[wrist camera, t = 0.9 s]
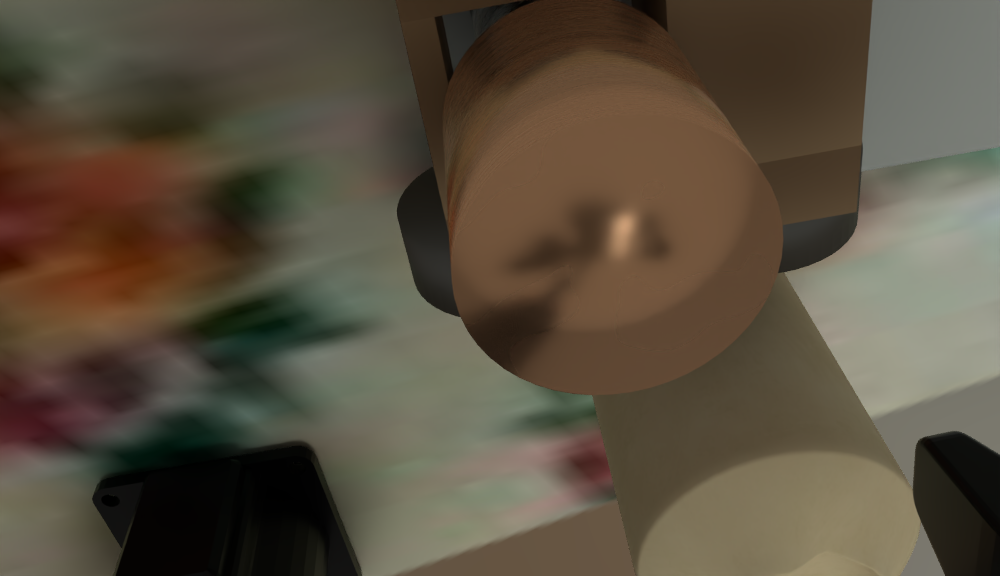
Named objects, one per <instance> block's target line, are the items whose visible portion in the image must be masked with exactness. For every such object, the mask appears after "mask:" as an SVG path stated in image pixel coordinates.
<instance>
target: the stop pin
mask: <svg viewBox="0 0 1000 576" xmlns="http://www.w3.org/2000/svg"><path fill="white" fill-rule="evenodd" d="M472 21H473V29H474V35H475V41H474V42H473V44H472V45H471V46H470V47H469V48H468V50H467V51H466V52H465V54H464V55H463V57H462V58H461V60H460V62H459V63H458V65H457V67H456V69H455V71H454V73H453V75H452V78H451V80H450V82H449V85H448V89H447V92H446V96H445V100H444V107H443V145H444V161H445V178H446V195H447V211H448V228H449V245H450V261H451V278H452V286H453V293H454V299H455V302H456V305H457V308H458V311H459V314H460V317H461V319H462V321H463V323H464V325H465V327H466V328H467V330H468V332H469V333H470V335H471V336H472V338H473V339H474V340H475V342H476V343H477V345H478V346H479V347H480V348H481V349H482V350H483V351H484V352H485V353H486V354H487V355H488V356H489V357H490V358H491V359H492V360H494V361H495V362H496V363H498V364H499V365H500V366H501V367H503V368H504V369H506V370H507V371H509V372H511V373H513V374H514V375H516V376H518V377H519V378H522V379H524V380H526V381H528V382H531V383H533V384H535V385H538V386H542V387H545V388H548V389H552V390H556V391H561V392H566V393H572V394H584V395H612V394H620V393H629V392H634V391H639V390H643V389H647V388H651V387H654V386H658V385H661V384H664V383H667V382H670V381H672V380H674V379H677V378H679V377H681V376H683V375H686V374H688V373H690V372H691V371H693V370H695V369H697V368H699V367H700V366H702V365H704V364H706V363H707V362H708V361H710V360H711V359H713V358H714V357H716V356H717V355H718V354H720V353H721V352H722V351H724V350H725V349H726V348H727V347H728V346H729V345H731V344H732V343H733V342H734V341H735V340H736V339H737V338H738V337H739V336H740V335H741V334H742V333H743V332H744V331H745V330H746V329H747V327H748V326H749V325H750V324H751V323H752V321H753V320H754V319H755V317H756V316H757V314H758V313H759V312H760V310H761V309H762V307H763V305H764V303H765V302H766V300H767V298H768V296H769V295H770V292H771V290H772V288H773V285H774V283H775V280H776V278H777V274H778V271H779V267H780V263H781V259H782V249H783V225H782V218H781V214H780V209H779V205H778V202H777V199H776V197H775V194H774V192H773V189H772V187H771V185H770V184H769V182H768V180H767V179H766V177H765V176H764V174H763V172H762V171H761V169H760V168H759V166H758V165H757V163H756V162H755V160H754V159H753V157H752V156H751V154H750V153H749V151H748V150H747V148H746V147H745V145H744V144H743V142H742V141H741V139H740V138H739V136H738V135H737V133H736V132H735V130H734V129H733V127H732V126H731V124H730V123H729V121H728V120H727V118H726V117H725V115H724V114H723V112H722V111H721V109H720V108H719V106H718V105H717V103H716V102H715V100H714V99H713V97H712V96H711V94H710V93H709V91H708V90H707V88H706V87H705V86H704V84H703V83H702V81H701V80H700V78H699V77H698V75H697V74H696V72H695V71H694V69H693V68H692V66H691V65H690V63H689V62H688V60H687V59H686V57H685V56H684V54H683V53H682V51H681V50H680V48H679V47H678V45H677V44H676V42H675V41H674V40H673V38H672V37H671V36H670V35H669V34H668V33H667V31H666V30H665V29H664V28H663V27H662V26H660V25H659V24H658V23H657V22H656V21H655V20H654V19H652V18H651V17H649V16H648V15H646V14H645V13H643V12H642V11H640V10H639V9H636V8H634V7H632V6H630V5H628V4H625V3H623V2H620V1H617V0H522V1H517V2H512V3H506V4H501V5H496V6H490V7H485V8H479V9H474V10H472Z"/></svg>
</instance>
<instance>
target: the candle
mask: <svg viewBox="0 0 1000 576" xmlns="http://www.w3.org/2000/svg"><path fill="white" fill-rule="evenodd" d="M592 396H593V400H594V404H595V409H596V413H597V417H598V421H599V425H600V429H601V434H602V438H603V442H604V446H605V450H606V455H607V459H608V463H609V467H610V471H611V475H612V480H613V484H614V488H615V492H616V496H617V500H618V504H619V509H620V513H621V517H622V521H623V526H624V529H625V534H626V538H627V542H628V546H629V550H630V555H631V558H632V563H633V567H634V571H635V575H636V576H900V575H901V572H902V571H903V569H904V567H905V566H906V564H907V562H908V560H909V558H910V556H911V554H912V552H913V549H914V547H915V544H916V542H917V539H918V536H919V531H920V525H921V520H920V518H919V516H918V513H917V510H916V507H915V504H914V499H913V489H912V487H911V486H910V484H909V483H908V481H907V479H906V477H905V476H904V474H903V472H902V470H901V469H900V467H899V465H898V464H897V462H896V460H895V459H894V457H893V455H892V454H891V452H890V450H889V449H888V447H887V445H886V444H885V442H884V440H883V439H882V437H881V435H880V434H879V432H878V430H877V428H876V427H875V425H874V423H873V422H872V420H871V418H870V417H869V415H868V413H867V412H866V410H865V408H864V407H863V405H862V403H861V402H860V400H859V398H858V396H857V395H856V393H855V391H854V390H853V388H852V386H851V385H850V383H849V381H848V380H847V378H846V376H845V375H844V373H843V371H842V370H841V368H840V366H839V365H838V363H837V361H836V360H835V358H834V356H833V354H832V353H831V351H830V349H829V348H828V346H827V344H826V343H825V341H824V339H823V338H822V336H821V334H820V333H819V331H818V329H817V328H816V326H815V324H814V323H813V321H812V319H811V318H810V316H809V314H808V312H807V311H806V309H805V307H804V306H803V304H802V302H801V301H800V299H799V297H798V296H797V294H796V292H795V291H794V289H793V287H792V286H791V284H790V282H789V281H788V279H787V277H786V275H785V274H784V272H782V273H778V274H777V278H776V280H775V283H774V285H773V288H772V290H771V292H770V295H769V296H768V298H767V300H766V302H765V303H764V305H763V307H762V309H761V310H760V312H759V313H758V314H757V316H756V317H755V319H754V320H753V321H752V323H751V324H750V325H749V326H748V327H747V329H746V330H745V331H744V332H743V333H742V334H741V335H740V336H739V337H738V338H737V339H736V340H735V341H734V342H733V343H732V344H731V345H729V346H728V347H727V348H726V349H725V350H724V351H722V352H721V353H720V354H718V355H717V356H716V357H714V358H713V359H711V360H710V361H708V362H707V363H706V364H704V365H702V366H700V367H699V368H697V369H695V370H693V371H691V372H690V373H688V374H686V375H683V376H681V377H679V378H677V379H674V380H672V381H670V382H667V383H664V384H661V385H658V386H654V387H651V388H647V389H643V390H639V391H634V392H629V393H620V394H612V395H592Z"/></svg>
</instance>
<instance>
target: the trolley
mask: <svg viewBox="0 0 1000 576" xmlns="http://www.w3.org/2000/svg"><path fill="white" fill-rule="evenodd" d="M517 1H522V0H396V5H397V9H398V14H399V18H400V22H401V27H402V31H403V35H404V40H405V44H406V49H407V53H408V57H409V62H410V66H411V70H412V75H413V79H414V84H415V88H416V92H417V97H418V101H419V105H420V110H421V114H422V119H423V123H424V127H425V132H426V136H427V140H428V145H429V149H430V154H431V158H432V162H433V167H431V168H430V169H428V170H426V171H425V172H424V173H422V174H421V175H420V176H418V177H417V178H416V179H415V180H414V181H413V182H412V183H411V184H410V185H409V186H408V187H407V188H406V189H405V191H404V193H403V194H402V196H401V198H400V200H399V203H398V207H397V217H398V221H399V225H400V229H401V233H402V237H403V240H404V244H405V248H406V252H407V255H408V259H409V263H410V267H411V271H412V274H413V278H414V282H415V285H416V287H417V290H418V291H419V293H420V294H421V296H422V297H423V298H424V299H425V300H426V301H427V302H428V303H430V304H431V305H433V306H434V307H436V308H438V309H440V310H442V311H444V312H446V313H449V314H452V315H455V316H459V317H460V314H459V311H458V308H457V305H456V302H455V299H454V293H453V286H452V278H451V261H450V245H449V228H448V211H447V195H446V178H445V161H444V145H443V107H444V100H445V96H446V92H447V89H448V85H449V82H450V80H451V78H452V75H453V73H454V72H453V67H452V62H451V57H450V52H449V47H448V42H447V37H446V32H445V27H444V22H443V17H442V15H447V14H453V13H458V12H463V11H469V10H474V9H479V8H485V7H490V6H496V5H501V4H506V3H512V2H517ZM631 1H632V7H634V8H636V9H639V10H640V11H642V12H643V13H645V14H646V15H648V16H649V17H651V18H652V19H654V20H655V21H656V22H657V23H658V24H659V25H660V26H662V27H663V28H664V29H665V30H666V31H667V33H668V34H669V35H670V36H671V37H672V38H673V40H674V41H675V42H676V44H677V45H678V47H679V48H680V50H681V51H682V53H683V54H684V56H685V57H686V59H687V60H688V62H689V63H690V65H691V66H692V68H693V69H694V71H695V72H696V74H697V75H698V77H699V78H700V80H701V81H702V83H703V84H704V86H705V87H706V88H707V90H708V91H709V93H710V94H711V96H712V97H713V99H714V100H715V102H716V103H717V105H718V106H719V108H720V109H721V111H722V112H723V114H724V115H725V117H726V118H727V120H728V121H729V123H730V124H731V126H732V127H733V129H734V130H735V132H736V133H737V135H738V136H739V138H740V139H741V141H742V142H743V144H744V145H745V147H746V148H747V150H748V151H749V153H750V154H751V156H752V157H753V159H754V160H755V162H756V163H757V165H758V166H759V168H760V169H761V171H762V172H763V174H764V176H765V177H766V179H767V180H768V182H769V184H770V185H771V187H772V189H773V192H774V194H775V197H776V199H777V202H778V205H779V209H780V214H781V218H782V225H783V249H782V259H781V263H780V267H779V271H778V273H782V272H787V271H791V270H796V269H799V268H802V267H805V266H809V265H811V264H814V263H816V262H818V261H821V260H823V259H824V258H826V257H828V256H830V255H832V254H833V253H835V252H836V251H837V250H839V249H840V248H841V247H842V246H843V245H844V244H845V243H846V242H847V241H848V240H849V239H850V237H851V236H852V235H853V233H854V231H855V228H856V226H857V220H858V208H859V195H860V182H861V169H862V156H863V144H862V134H863V121H864V107H865V94H866V81H867V68H868V55H869V42H870V29H871V15H872V2H873V0H631Z"/></svg>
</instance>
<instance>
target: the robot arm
mask: <svg viewBox="0 0 1000 576" xmlns="http://www.w3.org/2000/svg"><path fill="white" fill-rule="evenodd" d="M293 462H300V463H302V464H301V465H298V464H294V463H293ZM913 479H914V480H913V499H914V504H915V507H916V510H917V513H918V516H919V518H920V520H921V523H922V525H923V527H924V529H925V531H926V534H927V536H928V538H929V540H930V543H931V545H932V547H933V549H934V552H935V554H936V556H937V558H938V561H939V563H940V565H941V567H942V569H943V572H944V574H945V576H1000V455H999V454H998V453H996V452H994V451H993V450H991V449H990V448H988V447H986V446H985V445H983V444H981V443H980V442H978V441H977V440H975V439H973V438H972V437H970V436H968V435H966V434H964V433H962V432H958V431H951V432H946V433H941V434H936V435H932V436H927V437H923V438H922V439H920V440H919V441H918V443H917V445H916V449H915V465H914V478H913ZM111 495H114V496H111ZM92 500H93V503H94V505H95V506H96V508H97V510H98V511H99V513H100V514H101V516H102V518H103V519H104V521H105V522H106V524H107V526H108V527H109V529H110V530H111V532H112V534H113V535H114V537H115V539H116V540H117V542H118V543H119V545H120V547H121V548H122V549H121V552H120V556H119V559H118V562H117V565H116V568H115V571H114V574H113V576H362V573H361V570H360V568H359V565H358V562H357V560H356V557H355V555H354V552H353V550H352V547H351V545H350V542H349V540H348V537H347V535H346V532H345V530H344V527H343V524H342V522H341V519H340V517H339V514H338V512H337V509H336V507H335V504H334V502H333V499H332V497H331V494H330V491H329V489H328V486H327V484H326V481H325V479H324V476H323V474H322V471H321V469H320V466H319V464H318V461H317V459H316V456H315V454H314V453H313V451H311V450H310V449H308V448H306V447H302V446H292V447H286V448H280V449H275V450H269V451H263V452H257V453H252V454H246V455H240V456H234V457H228V458H223V459H217V460H211V461H205V462H200V463H194V464H188V465H182V466H177V467H171V468H165V469H159V470H154V471H148V472H142V473H136V474H130V475H125V476H119V477H113V478H107V479H104V480H102V481H100V482H99V483H98V484H97V487H96V489H95V492H94V495H93V498H92Z"/></svg>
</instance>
